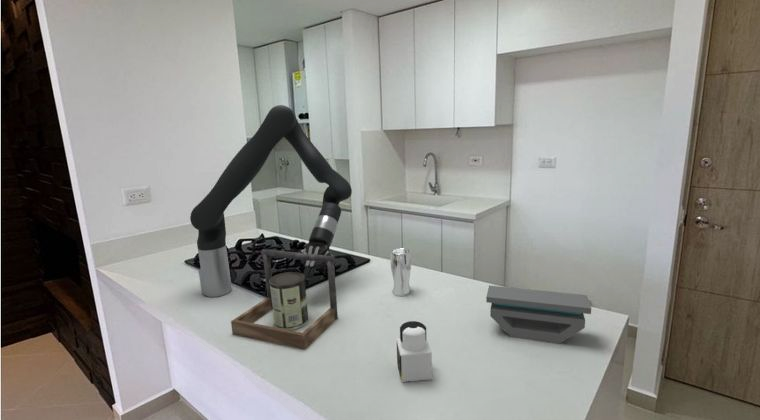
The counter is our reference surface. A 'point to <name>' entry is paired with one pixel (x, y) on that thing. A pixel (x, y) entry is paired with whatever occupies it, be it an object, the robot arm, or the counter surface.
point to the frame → (266, 333)
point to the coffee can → (289, 300)
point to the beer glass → (401, 271)
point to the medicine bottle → (414, 353)
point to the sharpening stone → (538, 313)
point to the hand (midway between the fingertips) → (306, 278)
